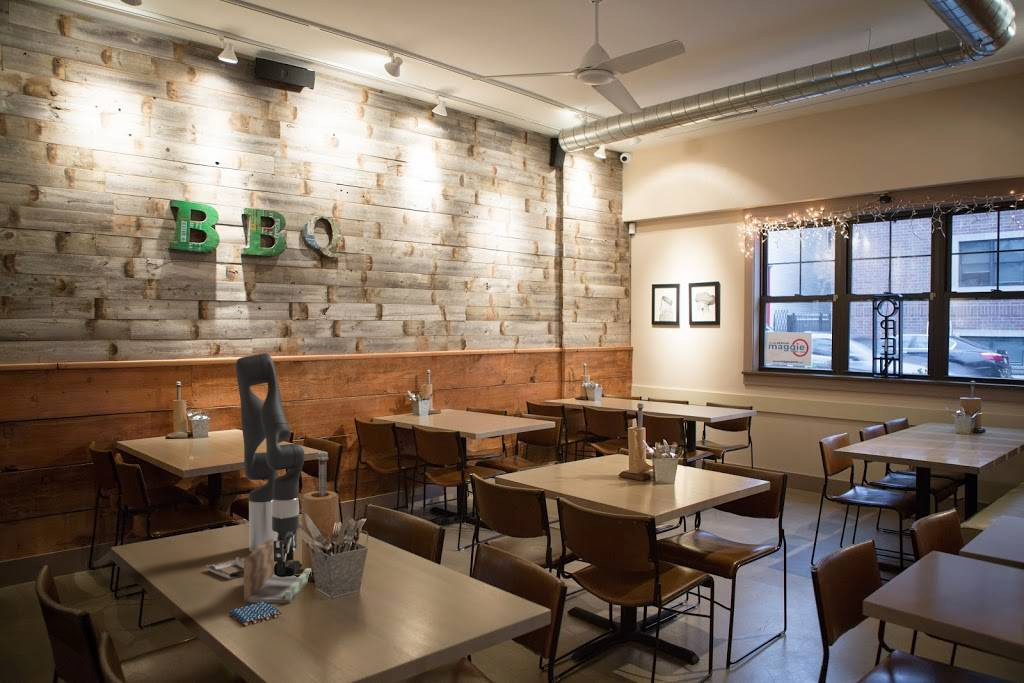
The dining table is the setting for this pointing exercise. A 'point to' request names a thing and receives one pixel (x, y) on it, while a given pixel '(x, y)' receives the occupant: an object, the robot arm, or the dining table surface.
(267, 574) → the cleat board
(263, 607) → the woven mat
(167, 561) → the dining table surface
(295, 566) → the tape measure
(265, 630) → the dining table surface
